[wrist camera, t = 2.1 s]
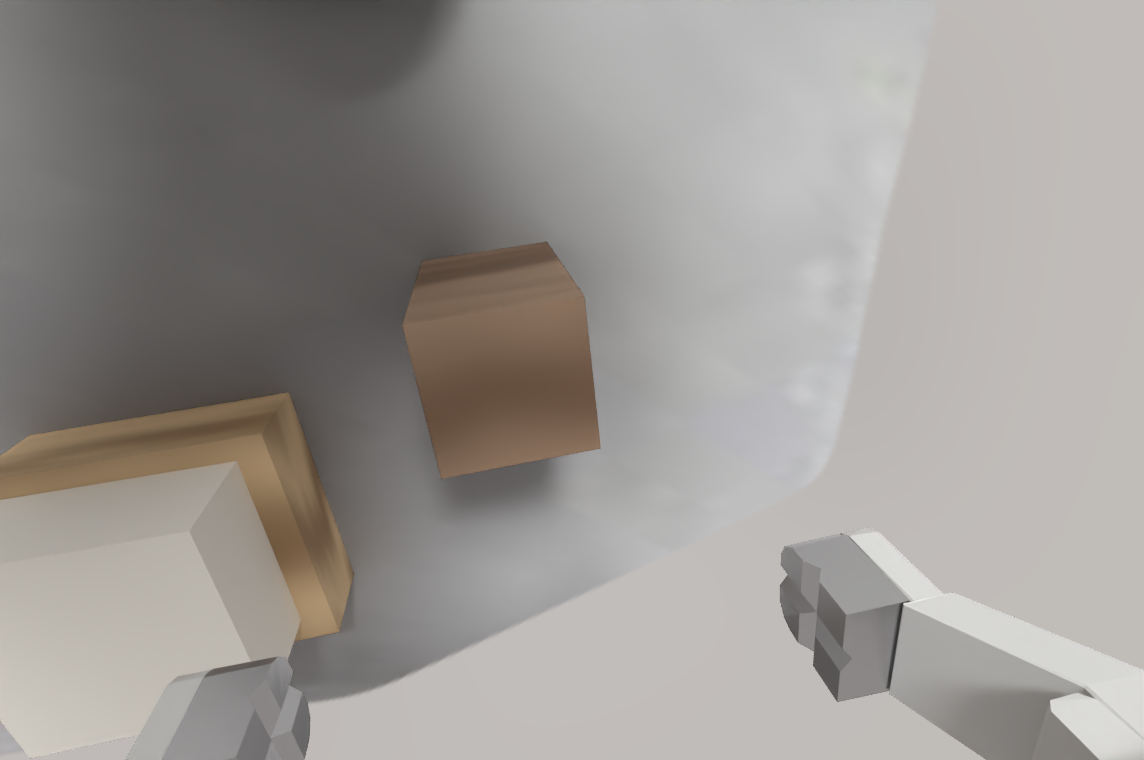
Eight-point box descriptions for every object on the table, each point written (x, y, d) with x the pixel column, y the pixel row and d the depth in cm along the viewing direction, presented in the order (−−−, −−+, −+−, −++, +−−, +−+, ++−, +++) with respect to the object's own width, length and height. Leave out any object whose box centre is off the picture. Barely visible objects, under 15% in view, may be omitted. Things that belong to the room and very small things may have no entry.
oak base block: (36, 430, 23) (-44, 486, 19) (291, 388, 24) (260, 433, 20) (142, 610, 27) (92, 684, 24) (355, 567, 28) (339, 631, 25)
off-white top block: (-5, 500, 20) (-109, 583, 16) (236, 460, 21) (188, 530, 17) (97, 660, 23) (30, 758, 20) (301, 620, 24) (272, 706, 21)
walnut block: (421, 260, 22) (402, 325, 15) (546, 241, 23) (584, 296, 16) (448, 374, 25) (441, 479, 17) (561, 355, 25) (600, 448, 18)
